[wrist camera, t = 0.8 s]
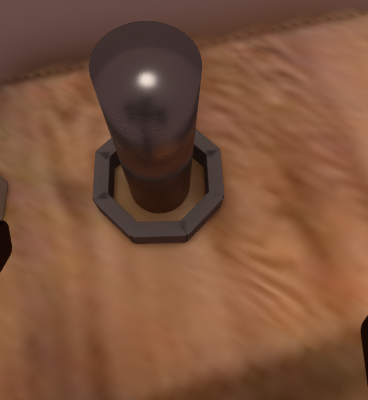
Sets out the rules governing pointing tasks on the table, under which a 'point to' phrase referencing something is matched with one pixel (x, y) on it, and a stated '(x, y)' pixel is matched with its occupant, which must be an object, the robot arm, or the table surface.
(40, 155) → the table surface
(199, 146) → the socket ring
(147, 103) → the dark glossy cylinder
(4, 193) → the ring
